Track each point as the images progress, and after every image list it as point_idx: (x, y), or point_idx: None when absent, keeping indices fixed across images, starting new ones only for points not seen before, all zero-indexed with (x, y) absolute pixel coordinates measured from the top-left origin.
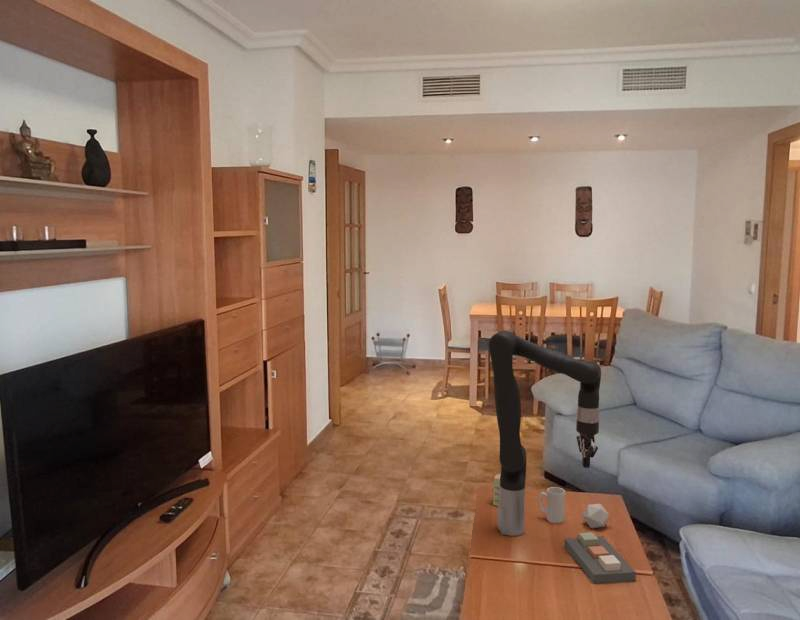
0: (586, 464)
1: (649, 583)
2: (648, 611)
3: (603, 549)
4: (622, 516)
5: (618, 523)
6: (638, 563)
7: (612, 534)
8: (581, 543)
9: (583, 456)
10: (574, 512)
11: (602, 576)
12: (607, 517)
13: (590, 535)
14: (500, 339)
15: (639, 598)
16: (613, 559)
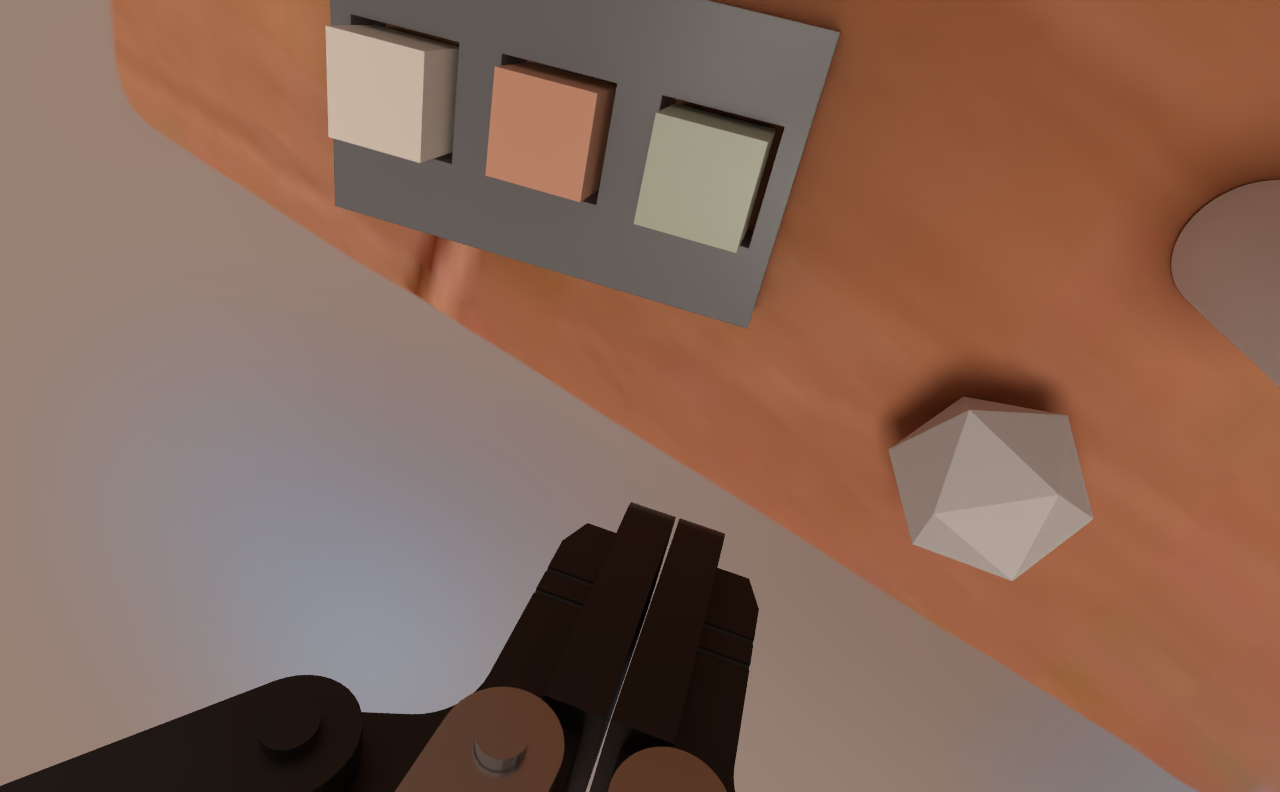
0: (553, 571)
1: (340, 243)
2: (127, 51)
3: (535, 174)
4: (979, 646)
5: (921, 570)
6: (511, 336)
7: (828, 448)
8: (718, 119)
9: (643, 749)
10: (1238, 465)
11: None
12: (906, 517)
13: (698, 205)
14: None
15: (225, 91)
16: (371, 122)
